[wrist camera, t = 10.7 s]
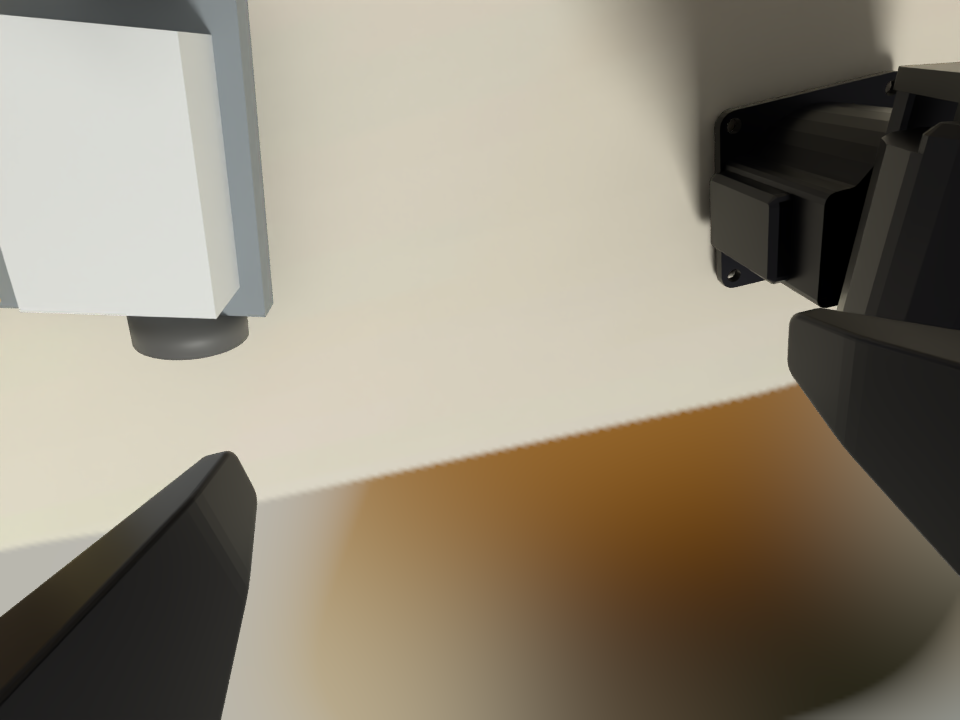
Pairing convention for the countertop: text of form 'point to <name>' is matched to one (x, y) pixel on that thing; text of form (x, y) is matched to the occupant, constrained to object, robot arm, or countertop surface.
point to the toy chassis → (133, 169)
